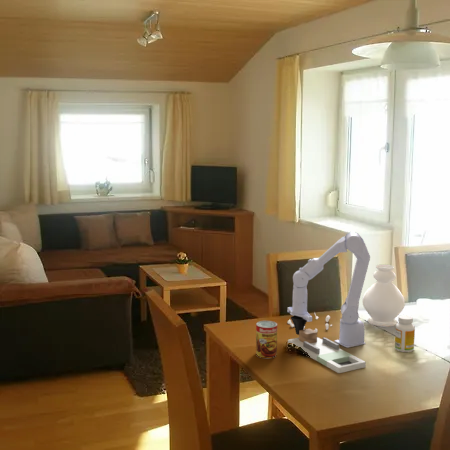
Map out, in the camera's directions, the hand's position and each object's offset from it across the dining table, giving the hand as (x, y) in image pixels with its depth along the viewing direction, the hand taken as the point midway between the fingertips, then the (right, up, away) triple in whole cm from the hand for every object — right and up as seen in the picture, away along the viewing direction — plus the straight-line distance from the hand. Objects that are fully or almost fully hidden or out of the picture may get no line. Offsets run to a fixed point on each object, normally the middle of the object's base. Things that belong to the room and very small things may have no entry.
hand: (299, 334), depth 252 cm
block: (+3, -2, -5) cm, 6 cm away
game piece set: (+7, 0, +21) cm, 22 cm away
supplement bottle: (+40, -5, -8) cm, 41 cm away
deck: (+8, -6, -14) cm, 17 cm away
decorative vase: (+39, +1, +24) cm, 46 cm away
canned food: (-14, -6, -14) cm, 20 cm away
